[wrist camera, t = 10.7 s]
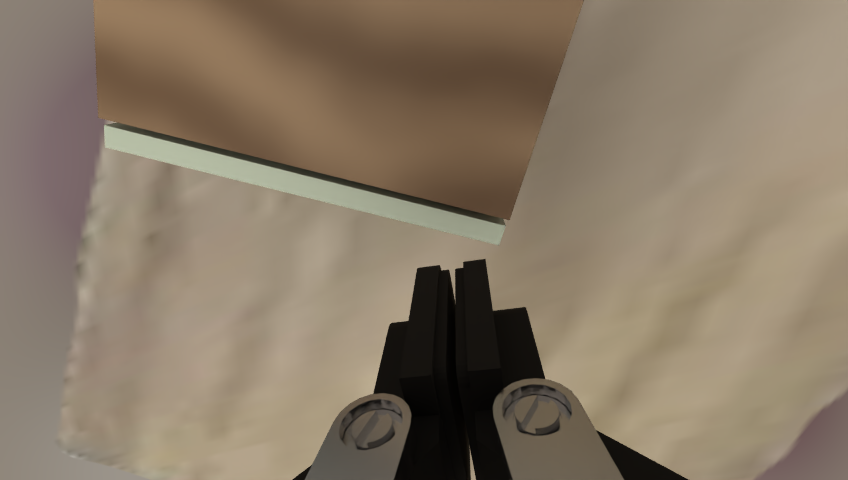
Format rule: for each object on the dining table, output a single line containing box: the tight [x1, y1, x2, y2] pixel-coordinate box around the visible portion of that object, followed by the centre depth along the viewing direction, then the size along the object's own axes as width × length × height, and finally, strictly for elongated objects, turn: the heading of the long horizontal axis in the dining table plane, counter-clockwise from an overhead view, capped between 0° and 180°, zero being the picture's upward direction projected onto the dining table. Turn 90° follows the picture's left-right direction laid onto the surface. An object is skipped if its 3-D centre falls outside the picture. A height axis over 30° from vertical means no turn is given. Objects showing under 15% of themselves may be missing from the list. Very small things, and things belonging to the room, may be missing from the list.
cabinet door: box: [104, 123, 505, 245], centre depth 29 cm, size 2×22×11 cm, turn 76°
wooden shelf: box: [93, 0, 584, 220], centre depth 26 cm, size 14×22×12 cm, turn 76°
